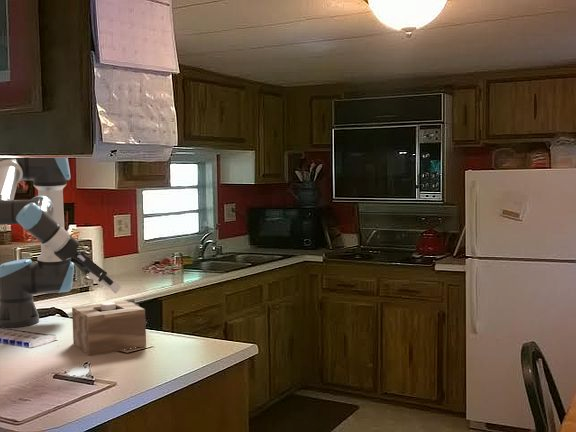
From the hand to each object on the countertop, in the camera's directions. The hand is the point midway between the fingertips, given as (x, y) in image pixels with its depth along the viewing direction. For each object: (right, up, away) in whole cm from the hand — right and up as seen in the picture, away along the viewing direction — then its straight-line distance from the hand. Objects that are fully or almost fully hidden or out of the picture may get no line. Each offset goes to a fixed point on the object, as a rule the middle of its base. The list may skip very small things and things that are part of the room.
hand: (111, 287), depth 220 cm
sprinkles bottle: (-1, -19, +1) cm, 19 cm away
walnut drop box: (-1, -19, +1) cm, 19 cm away
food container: (+1, -17, +20) cm, 27 cm away
